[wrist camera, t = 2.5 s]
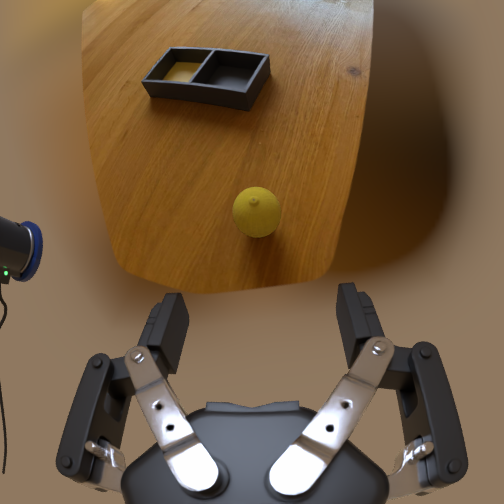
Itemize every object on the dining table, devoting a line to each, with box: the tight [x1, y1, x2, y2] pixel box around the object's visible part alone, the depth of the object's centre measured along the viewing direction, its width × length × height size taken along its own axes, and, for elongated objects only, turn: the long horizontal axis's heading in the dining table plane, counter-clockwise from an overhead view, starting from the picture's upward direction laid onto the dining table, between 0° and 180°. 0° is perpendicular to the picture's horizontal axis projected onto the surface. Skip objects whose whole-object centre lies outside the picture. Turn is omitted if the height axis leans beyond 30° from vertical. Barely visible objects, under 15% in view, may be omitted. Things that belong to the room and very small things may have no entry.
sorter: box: [141, 47, 271, 111], centre depth 40 cm, size 10×20×4 cm, turn 68°
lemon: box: [233, 187, 281, 238], centre depth 32 cm, size 6×6×8 cm
